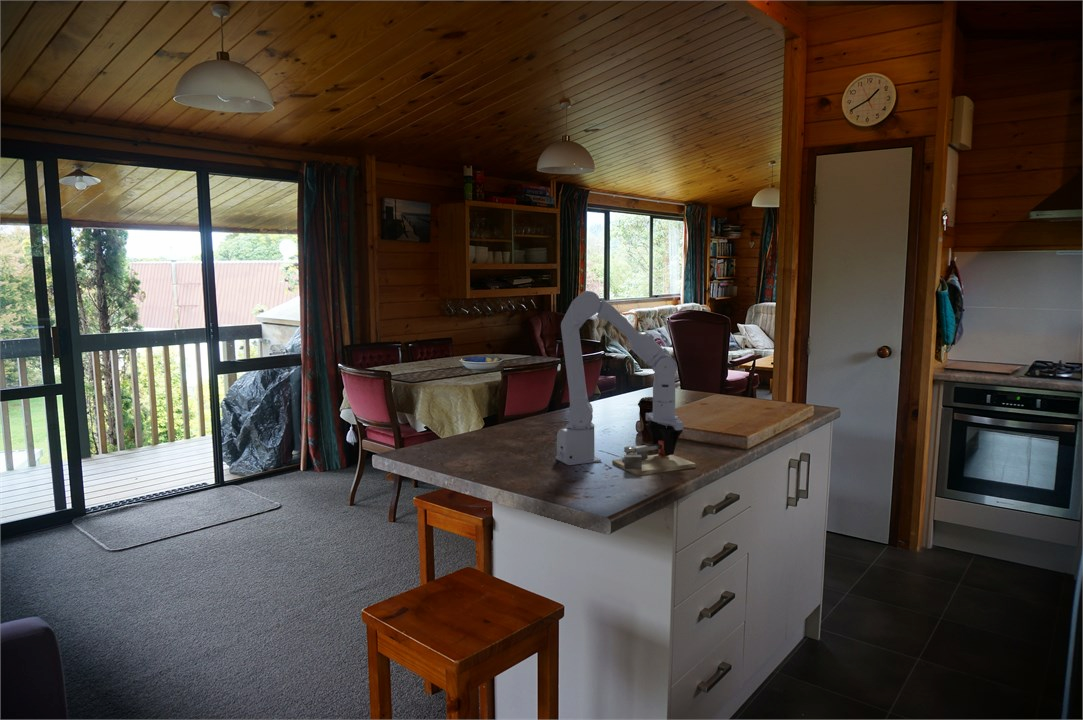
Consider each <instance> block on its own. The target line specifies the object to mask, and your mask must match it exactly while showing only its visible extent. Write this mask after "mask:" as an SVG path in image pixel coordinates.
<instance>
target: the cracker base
mask: <svg viewBox="0 0 1083 720" xmlns="http://www.w3.org/2000/svg"><path fill="white" fill-rule="evenodd" d="M611 462H612V465H614V466H615V467H618V468H619V469H622V470H624V471H626V472H628V473H630V474H632V475H635V476H636V477H638V476H644V475H652V474H659V473H665V472H667V473H668V472H673V471H680V470H687V469H693V468H694V469H696V465H697V464H696V463H695V462H693V461H690V460H688V459H685V458H682V457H681V456H677V455H675V454H673V455H669V456H659V455H658V453H657V454H651V455H648V459H645V460H642V457H641V455H637V453H636V452H635V453H626V454H624V456H623V458H619V459H612V460H611Z"/></svg>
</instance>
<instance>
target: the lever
mask: <svg viewBox="0 0 1083 720" xmlns="http://www.w3.org/2000/svg"><path fill="white" fill-rule="evenodd" d="M656 449H658V451H657V454H658V455H659V456H669V455H665V451H664V441H663V439H659V440H658V444H650V445H645V444H643V445H636V446H631V445H630V446H625V447H623V452H624V453H635V454H636V455H641V457H642V460H645V459H648V456H649V455H648V453H649V451H655V450H656Z"/></svg>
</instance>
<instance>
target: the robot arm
mask: <svg viewBox="0 0 1083 720" xmlns="http://www.w3.org/2000/svg"><path fill="white" fill-rule="evenodd" d="M596 314H597V315H596ZM595 315H596V316H597V319H602V320H605V321H608V322H609V323H610V324H612V325H613V326H614V328H615V329H617V330H618V331H619V332H620V333H621V334H622V335H623V336H624V337H626V338H627V339H628V340H629V342H630V345H629V347H630V349H631V351H633V352H634V353H635V355H637V356H638V357H639V358H640V359H641V360H642V361H643V362H644V363H645V364H646V365H647V366H651V369H652V370H653V372H654V373H653V382H652V397H653V413H646V420H647V421H651V422H650V423H649V424H646V428H647V429H648V431H649V433H650V436H651V439H652V443H653V444H658V440H659V439H663V441H664V451H665V455H675V454H674V452H675V449H676V446H677V443H678V441H679V438H680V437H681V434H682V433H683V430H684V422H683V421H681V420H680V419H679V416H678V415H676V382H675V381H676V373H677V371H678V366H677V362H676V361H675V360H676V359H674V358H673V357H672V356H671V354H670V353H668V349H667V348H665V347H664V348H663V347H662V346H661V345H660V344H659V343H658V342H657V341H656V340H655V336H654V335H653V334H652V333H650V334H649V333H648V332H646V331H643V332H640V331H638V330H637V329H636V328H635V327H634V326H633V325H632V324H631V323H630V322H629V321H628V320H627V319H626V318H625V317H624V316H623V315H622V314H621V313H620V312H619V311H618V310H617V308H615V306H613V305H612V304H610V303H609V302H608V301H606V300H605V299H603V298H602V297H601V298H600V297H599V295H598V294H597V293H596V292H595V291H592V290H585V291H582V292H581V293H579V294H578V295H577V296H576V297H575V298H574V299H573V300H572V301H571V303H570V305H569V306H568V309H567V310H566V313H565V314H564V317H563V318H562V320H561V323H560V329H561V330H560V331H561V339H562V346H563V347H562V348H563V354H564V361H565V362H564V364H565V369H566V371H565V372H566V378H567V384H568V386H567V387H568V395H569V408H568V413H567V420H568V422H567V423H566V427H564V428H560V429H559V430H558V431H557V434H556V456H555V459H556V460H557V461H560V462H561V463H563V464H565V465H567V466H575V465H576V466H577V465H581V464H582V465H583V464H591V463H599V462H601V461H602V459H600V458H598V457H597V456H595V424H594V423H593V422H592V421H593V411H594V409H593V408H594V407H593V405H592V404H591V402H590V401H589V398H588V392H587V385H586V376H585V367H584V361H583V360H584V359H583V351H582V344H581V336H580V329H581V328H582V326H583V325H584V324H585V323H586V321H587V320H588V319H590V318H592V317H593V316H595ZM654 451H655V452H656V451H657V452H658V449H656V450H654Z"/></svg>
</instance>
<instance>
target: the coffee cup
mask: <svg viewBox="0 0 1083 720" xmlns="http://www.w3.org/2000/svg"><path fill="white" fill-rule="evenodd" d="M637 406H638V408H639V413H638V414H639V415H638V416H639V425H640V427H639V428H640V432H641V436H642V437H641V438H642V439H641V442H642V444H643V445H650V444H653V443H652V439H651V436H650V433H649V431H648V429H647V428H646V424H649V423H650V422H651V421H647V420H646V413H653V396H646V397H642V398H641V397H640V400H639V401H638V402H637Z"/></svg>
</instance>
